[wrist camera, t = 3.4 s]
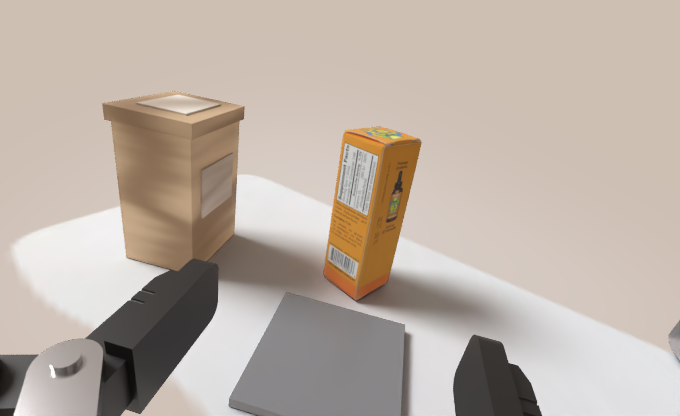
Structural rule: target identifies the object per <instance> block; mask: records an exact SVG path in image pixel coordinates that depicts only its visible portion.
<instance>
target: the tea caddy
mask: <svg viewBox="0 0 680 416" xmlns="http://www.w3.org/2000/svg"><path fill="white" fill-rule="evenodd" d="M103 113H104V119H105V120H109V121H111V125H112V133H113V142H114V151H115V160H116V169H117V178H118V187H119V195H120V204H121V213H122V222H123V231H124V240H125V249H126V257H127V258H131V259H135V260H138V261H142V262H145V263H149V264H153V265H156V266H160V267H163V268H167V269H171V270H175V271H179V270H180V269H181V268H182V267H183V266H184V265H185V264H186V263H187V262H188V261H190V260H191V259H194V258H195V259H199V260H202V261H206V262H207V261H208V260H209V259H210V258H211V257H212V256H213V255H214V254H215V253H216V252H217V251H218V250H219V249H220V248H221V247H222V246H223V244H224V243H225V242H226V241H227V240H228V239H229V238H230V237H231V236H232V235H233V234H234V228H235V206H236V184H237V162H238V161H237V160H238V140H239V138H238V137H239V121H240V120H243V119H244V106H240V105H236V104H231V103H226V102H222V101H217V100H213V99H208V98H204V97H199V96H195V95H190V94H185V93H181V92H176V91H172V92H166V93H160V94H154V95H149V96H143V97H137V98H131V99H126V100H119V101H114V102H108V103H103Z"/></svg>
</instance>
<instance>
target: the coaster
mask: <svg viewBox="0 0 680 416" xmlns="http://www.w3.org/2000/svg"><path fill="white" fill-rule="evenodd" d="M404 334H405V325H404V324H401V323H397V322H393V321H390V320H386V319H382V318H379V317H375V316H371V315H368V314H364V313H360V312H357V311H353V310H349V309H346V308H342V307H339V306H335V305H331V304H328V303H324V302H320V301H317V300H313V299H309V298H306V297H302V296H298V295H295V294H291V293H287V292H286V294H285V296H284V298H283V299H282V301H281V303H280V305H279V307H278V309H277V311H276V312H275V314H274V316H273V318H272V320H271V322H270V324H269V325H268V327H267V329H266V331H265V333H264V335H263V337H262V338H261V340H260V342H259V344H258V346H257V348H256V350H255V351H254V353H253V355H252V357H251V359H250V361H249V363H248V364H247V366H246V368H245V370H244V372H243V374H242V376H241V377H240V379H239V381H238V383H237V385H236V387H235V389H234V390H233V392H232V394H231V396H230V398H229V406H230V407H233V408H236V409H239V410H242V411H245V412H249V413H252V414H255V415H258V416H401V401H402V378H403V356H404Z"/></svg>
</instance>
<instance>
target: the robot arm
mask: <svg viewBox="0 0 680 416" xmlns="http://www.w3.org/2000/svg"><path fill="white" fill-rule="evenodd" d="M217 303H218V266H217V265H216V264H213V263H210V262H206V261H202V260H199V259H195V258H194V259H191V260H190V261H188V262H187V263H186V264H185V265H184V266H183V267H182V268H181V269H180V270H179V271H175V270H170V271H168V272H166V273H164V274H161V275H159V276H157V277H155V278H154V279H153V280H151V281H150V282H149V283H148V284H147V285H146V286H145V287H143V288H142V291H139V292H138V293H137V294H135V295H134V296H133V297H132V298H131V300H130V301H127V302H126V303H125V304H124V305H123V306H122V307H121V308H119V309H118V310H117V311H116V312H115V313H114V314H113V315H111V316H110V317H109V318H108V319H107V320H106V321H105V322H103V323H102V324H101V325H100V326H99V327H98V328H97V329H95V330H94V331H93V332H92V333H91V334H90V335H89V336H88V337H86V338H85V339H72V340H68V341H64V342H61V343H58V344H56V345H54V346H52V347H50V348H48V349H46V350H45V351H44V352H42V353H41V354H40V355H0V416H121V414H122V413H123V412H124V410H125V409H126V410H129V411H132V412H135V413H138V414H141V412H142V411H143V410H144V409H145V407H146V406H147V404H148V403H149V402H150V401H151V399H152V398H153V397H154V395H155V394H156V393H157V391H158V390H159V388H160V387H161V386H162V385H163V383H164V382H165V381H166V379H167V378H168V377H169V375H170V374H171V373H172V371H173V370H174V369H175V368H176V366H177V365H178V364H179V362H180V361H181V360H182V358H183V357H184V356H185V354H186V353H187V352H188V350H189V349H190V348H191V346H192V345H193V344H194V342H195V341H196V340H197V338H198V337H199V336H200V334H201V333H202V332H203V330H204V329H205V328H206V327H207V325H208V324H209V323H210V321H211V320H212V318H213V316H214V314H215V311H216V308H217ZM669 344H670V346H671V348H672V351H673V353H674V354H675V355H676V357H677V358H678V359H679V361H680V321H679V322H678V323H677V324H676V326H675V327H674V328H673V330H672V331H671V333H670V334H669ZM453 393H454V403H455V412H456V416H542V414H541V411H540V409H539V406H538V405H537V400H536V397H535V394H534V391H533V388H532V385H531V383H530V382H529V380H528V379H527V377H526V376H525V375H524V373H523V372H522V370H521V369H520V368H519V366H517V365H514V364H510V363H508V360H507V356H506V353H505V349H504V346H503V344H502V343H501V342H500V341H496V340H492V339H488V338H485V337H481V336H477V335H473V336H472V337H471V339H470V341H469V343H468V345H467V348H466V350H465V352H464V354H463V357H462V359H461V361H460V363H459V365H458V368H457V370H456V373H455V377H454V384H453Z"/></svg>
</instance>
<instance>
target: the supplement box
mask: <svg viewBox="0 0 680 416" xmlns="http://www.w3.org/2000/svg"><path fill="white" fill-rule="evenodd" d="M420 147H421V140H420V139H419V138H415V137H412V136H409V135H406V134H404V133H400V132H397V131H394V130H390V129H387V128H382V127H371V128H362V129H353V130H345V131H344V134H343V140H342V147H341V155H340V162H339V169H338V176H337V183H336V189H335V196H334V204H333V210H332V216H331V224H330V231H329V239H328V246H327V253H326V260H325V267H324V277H326V278H327V279H328V280H329V281H330V282H332V283H333V284H334V285H336V286H337V287H338V288H340V289H341V290H342V291H343V292H345V293H346V294H348V295H349V296H350V297H352V298H353V299H355V300H358V299H360V298H362V297H363V296H365V295H366V294H368V293H370V292H372V291H373V290H375V289H377V288H378V287H380V286H382V285H384V284H386V283H387V282H388V279H389V275H390V271H391V267H392V263H393V259H394V255H395V251H396V247H397V243H398V239H399V235H400V230H401V226H402V222H403V218H404V214H405V210H406V206H407V202H408V198H409V193H410V189H411V185H412V181H413V177H414V173H415V168H416V164H417V159H418V156H419V151H420Z"/></svg>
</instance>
